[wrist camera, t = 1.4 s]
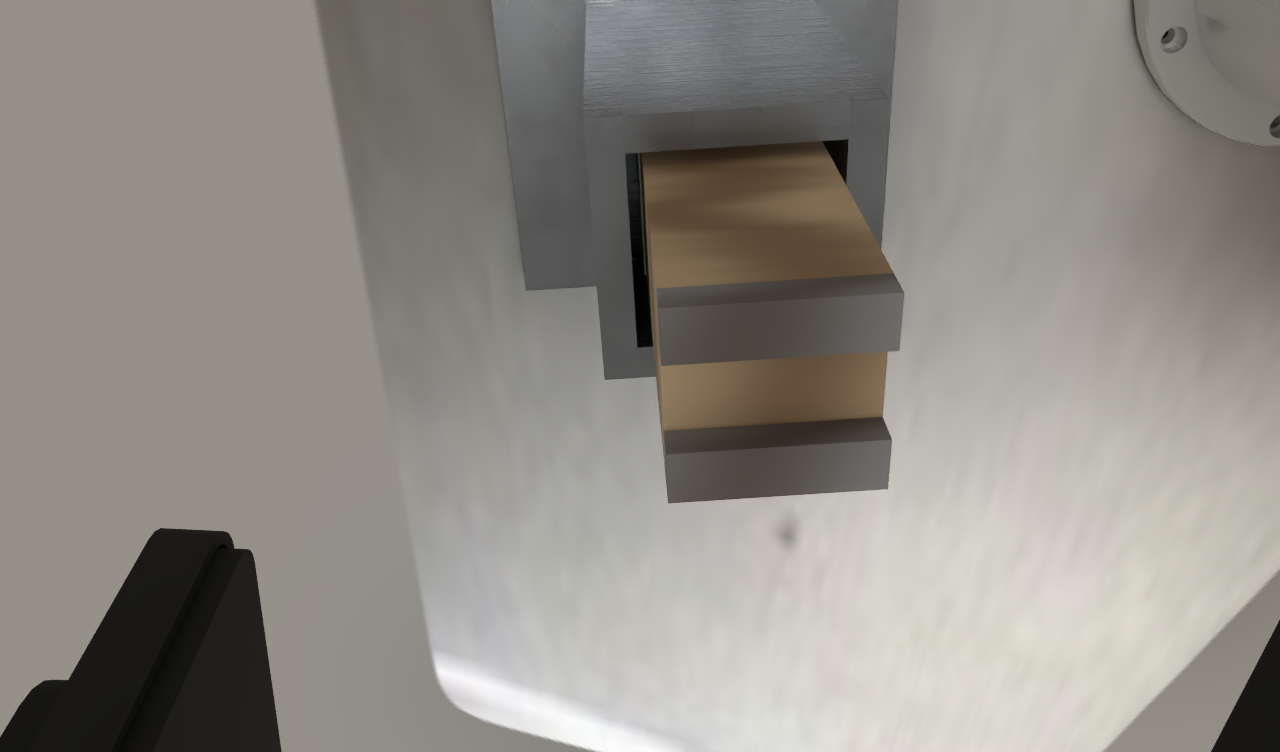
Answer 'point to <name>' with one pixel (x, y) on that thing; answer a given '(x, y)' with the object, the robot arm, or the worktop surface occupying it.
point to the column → (765, 323)
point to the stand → (673, 121)
